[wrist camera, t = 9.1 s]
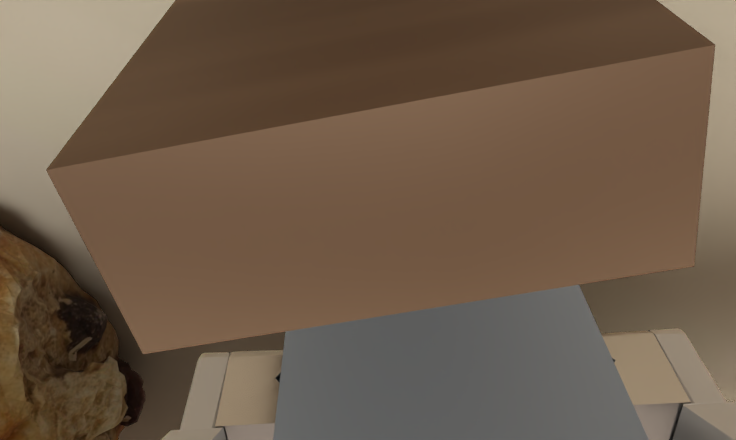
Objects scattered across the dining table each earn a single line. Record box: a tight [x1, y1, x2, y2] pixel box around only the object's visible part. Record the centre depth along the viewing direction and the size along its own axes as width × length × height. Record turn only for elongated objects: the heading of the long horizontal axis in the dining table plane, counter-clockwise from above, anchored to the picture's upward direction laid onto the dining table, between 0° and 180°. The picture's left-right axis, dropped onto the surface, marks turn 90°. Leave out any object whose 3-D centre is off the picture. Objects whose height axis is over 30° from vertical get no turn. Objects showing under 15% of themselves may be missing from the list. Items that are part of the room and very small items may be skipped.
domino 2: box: [273, 285, 649, 440], centre depth 11 cm, size 2×5×8 cm, turn 93°
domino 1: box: [46, 0, 715, 354], centre depth 9 cm, size 2×5×8 cm, turn 101°
